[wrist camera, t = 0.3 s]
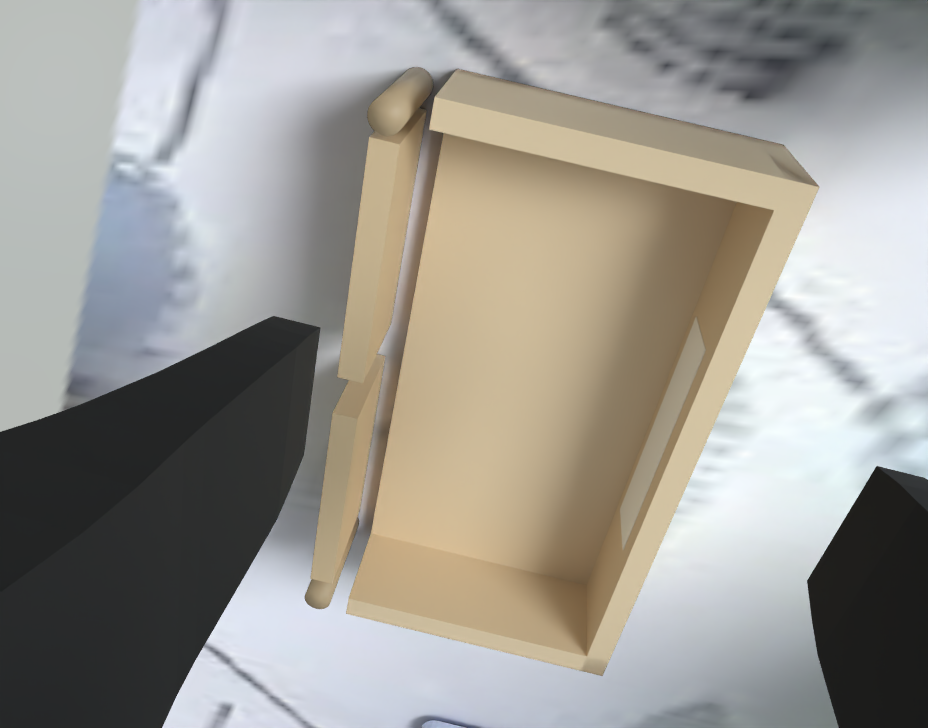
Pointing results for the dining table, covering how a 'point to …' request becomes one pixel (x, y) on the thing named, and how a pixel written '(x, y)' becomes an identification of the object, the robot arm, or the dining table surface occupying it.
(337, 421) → the flap
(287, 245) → the dining table surface
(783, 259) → the open cardboard tray
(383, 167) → the flap
